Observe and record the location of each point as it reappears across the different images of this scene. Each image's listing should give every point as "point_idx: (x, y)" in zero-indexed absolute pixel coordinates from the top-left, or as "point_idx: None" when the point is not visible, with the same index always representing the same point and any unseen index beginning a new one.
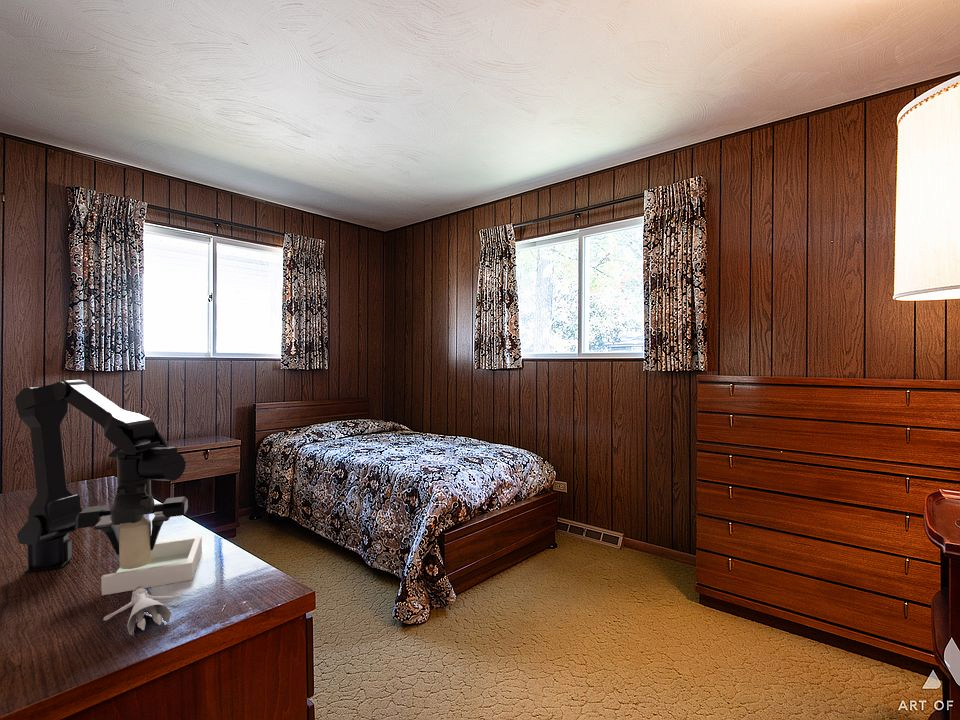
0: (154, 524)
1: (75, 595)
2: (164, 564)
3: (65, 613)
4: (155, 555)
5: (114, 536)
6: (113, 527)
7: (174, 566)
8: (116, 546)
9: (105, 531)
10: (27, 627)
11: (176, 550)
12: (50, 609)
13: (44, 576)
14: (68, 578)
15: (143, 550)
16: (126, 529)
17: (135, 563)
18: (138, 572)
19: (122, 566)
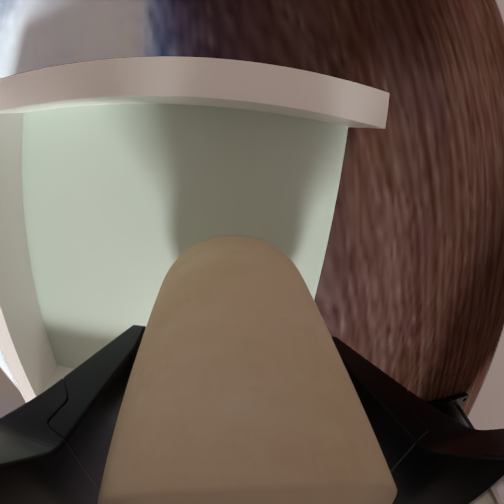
0: (7, 448)
1: (426, 174)
2: (126, 306)
3: (429, 28)
4: None
5: (403, 418)
6: (450, 478)
7: (20, 75)
8: (357, 367)
9: (486, 434)
10: (484, 20)
11: None
12: (470, 101)
13: (452, 370)
14: (424, 340)
15: (173, 296)
16: (345, 465)
17: (226, 244)
18: (191, 59)
19: (294, 264)
